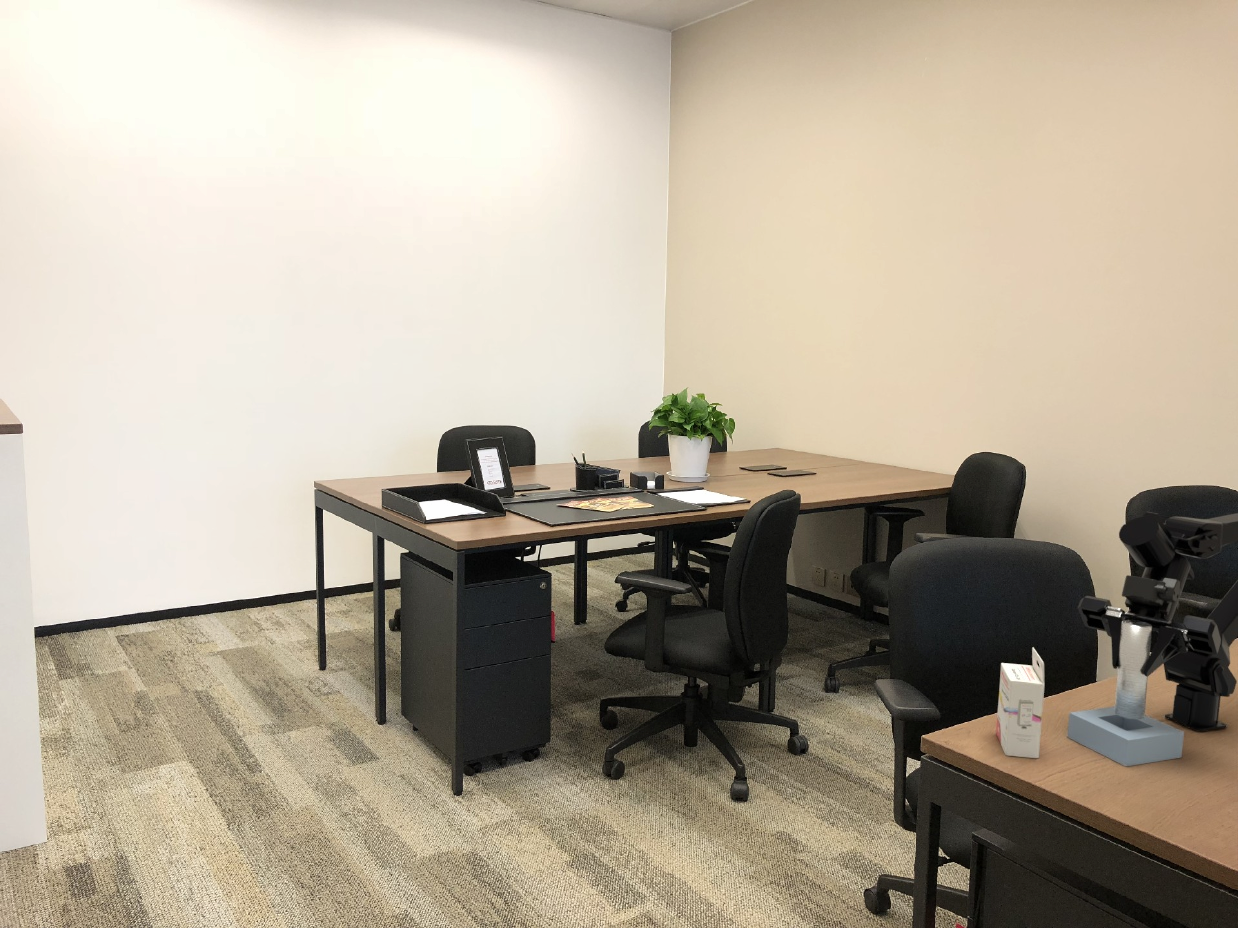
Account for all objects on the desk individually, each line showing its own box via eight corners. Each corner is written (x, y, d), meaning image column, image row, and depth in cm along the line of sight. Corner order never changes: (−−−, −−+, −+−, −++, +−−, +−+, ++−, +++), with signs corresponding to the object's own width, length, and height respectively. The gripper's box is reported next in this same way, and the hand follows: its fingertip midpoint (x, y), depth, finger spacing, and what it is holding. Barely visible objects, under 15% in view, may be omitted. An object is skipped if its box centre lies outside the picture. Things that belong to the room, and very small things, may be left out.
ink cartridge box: (993, 733, 151) (1001, 642, 149) (1027, 737, 150) (1035, 645, 148) (1004, 756, 142) (1012, 660, 140) (1039, 759, 141) (1048, 663, 139)
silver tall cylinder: (1127, 707, 147) (1135, 618, 145) (1150, 717, 143) (1158, 626, 141) (1108, 710, 145) (1115, 621, 143) (1130, 720, 141) (1138, 629, 140)
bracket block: (1120, 729, 154) (1122, 705, 153) (1181, 757, 144) (1184, 731, 143) (1067, 736, 150) (1069, 712, 149) (1125, 766, 140) (1128, 740, 139)
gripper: (1086, 545, 150) (1052, 627, 144) (1222, 566, 137) (1191, 658, 131) (1102, 585, 157) (1070, 665, 151) (1233, 609, 143) (1203, 698, 137)
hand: (1129, 670), depth 142 cm, fingers closed on silver tall cylinder, 4 cm apart
